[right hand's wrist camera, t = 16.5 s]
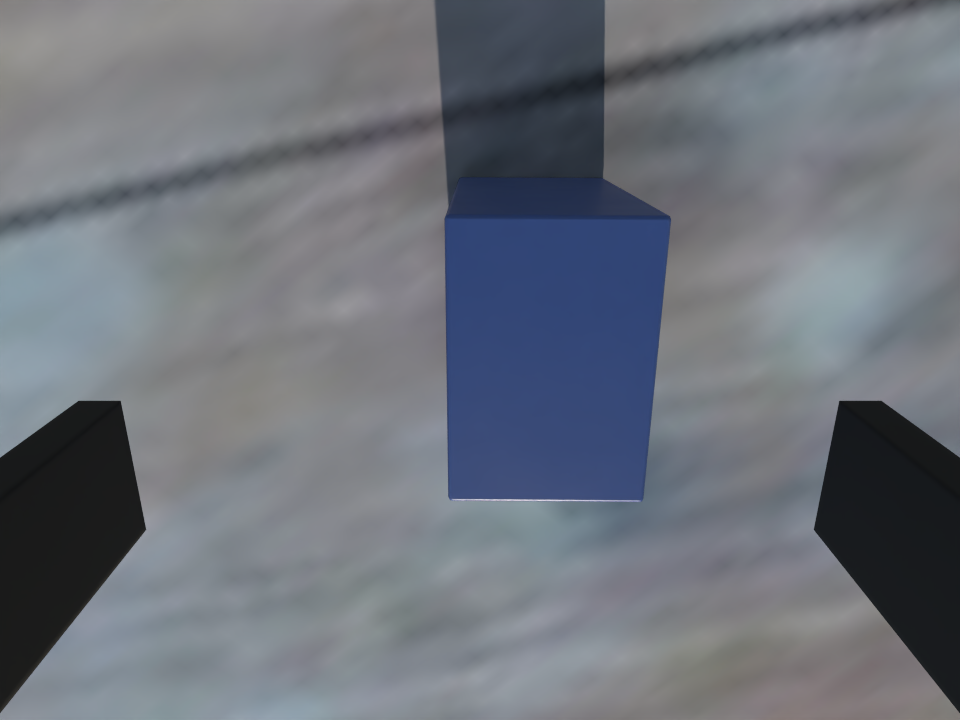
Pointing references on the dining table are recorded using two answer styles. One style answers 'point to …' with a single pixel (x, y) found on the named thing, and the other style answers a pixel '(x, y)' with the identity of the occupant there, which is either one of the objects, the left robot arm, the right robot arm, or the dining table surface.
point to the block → (551, 338)
